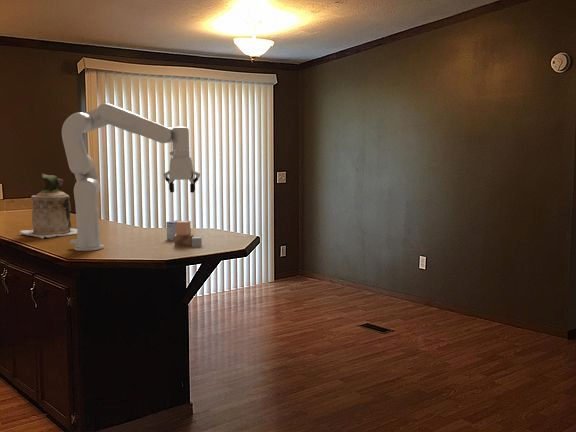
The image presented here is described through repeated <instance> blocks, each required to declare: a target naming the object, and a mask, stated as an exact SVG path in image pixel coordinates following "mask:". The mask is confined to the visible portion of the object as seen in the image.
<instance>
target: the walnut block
mask: <svg viewBox="0 0 576 432" xmlns="http://www.w3.org/2000/svg"><path fill="white" fill-rule="evenodd" d="M192 237H194V232H191V234H189V235H176V234H175V236H174V240H173V241H174V247H175V246H181V247H192Z"/></svg>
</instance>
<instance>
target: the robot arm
mask: <svg viewBox="0 0 576 432" xmlns="http://www.w3.org/2000/svg"><path fill="white" fill-rule="evenodd" d="M108 125H110V126H112V127H115V128H118V129H121V130H124V131H125V132H127V133H131V134H135V135H139V136H142V137H144V138H146V139H147V138H148V139H150V140H152V141H155V142H157V143H160V144H172V146H171V148H172V150H171V151H170V152H169V156H172V157H170V161H169V168H168V169H169V170H168V171H166V172H164V173H163V174H162V175H163V178H164V180H165V181H166V182H167V184H169V185H168V186H169V193H174V192H175V184H174V181H175V180H176V181H180V180H182V181H183V180H184V181H185V180H187V181H188V182H190V184H189V189H190V190H189V192H190V193H195V190H196V183H197V182H198V181H199V179H200V177H201V173H199V172H198V171H196V170H194V167H193V160H192V157H190V156H191V155H190V131H189V128H188V127H186V126H174V127H169V126H168V127H167V126H165V125H162V124H160V123H158V122H154V121H152V120H150V119H147V118H145V117H143V116H141V115H139V114H138V113H134V112H131V111H129V110H126V109H124V108H122V107H119V106H116V105H113V104H111V103H108V102H103V103H101V104H99V105H98V106H97V108H94V109H92V110H90V111H86V112H82V111H81V112H79V111H77V112H75V113H72V114H70V115H69V116H68V117H66V119H65V120H64V122H63V124H62V127H61V137H62V143H63V147H64V151H65V155H66V159H67V164H68V168H69V170H70V172H71V173H73V174H74V176H75V177H74V178H75V180H76V182H75V184H74V187H73V194H74V195H73V196H74V204H75V219H76V229H77V234H76V236H77V238H76V239H70V242H69V244H71V245H75V246H74V247H73V248H74V251H78V252H93V251H97V250H98V251H100V250H103V249H104V248H105V245H104V244H101V231H100V229H101V228H100V212H99V210H100V209H99V200H98V194H99V193H100V190H101V184H100V181H99V177H98V174H97V170H96V165H95V162H94V159H93V158H92V157H91V156H90V155H88V152H87V151H88V150H87V149H86V145H85V141H84V137H83V134H84V133H85V134H86V133H90V132H92V131H95V130H97V129H100V128H103V127H105V126H108ZM194 175H195V177H194Z"/></svg>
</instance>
